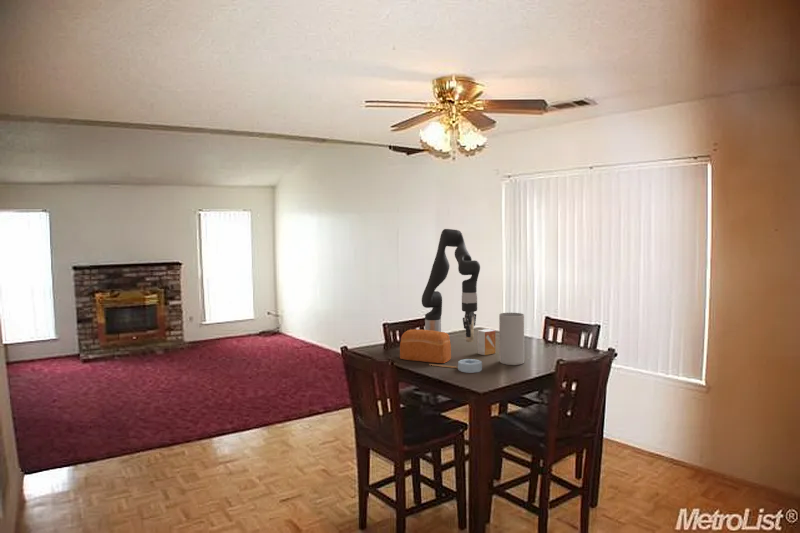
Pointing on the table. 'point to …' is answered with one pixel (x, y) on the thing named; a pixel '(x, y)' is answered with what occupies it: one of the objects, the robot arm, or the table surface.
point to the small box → (486, 341)
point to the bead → (469, 365)
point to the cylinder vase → (511, 338)
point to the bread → (425, 346)
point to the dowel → (471, 339)
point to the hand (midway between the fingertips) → (469, 335)
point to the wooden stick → (443, 366)
